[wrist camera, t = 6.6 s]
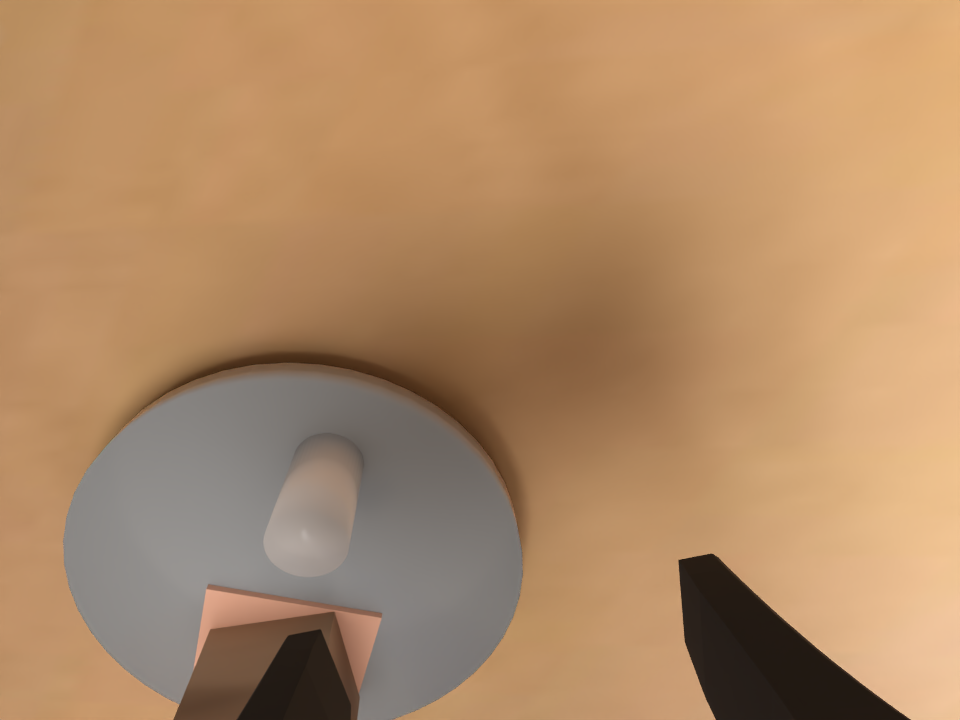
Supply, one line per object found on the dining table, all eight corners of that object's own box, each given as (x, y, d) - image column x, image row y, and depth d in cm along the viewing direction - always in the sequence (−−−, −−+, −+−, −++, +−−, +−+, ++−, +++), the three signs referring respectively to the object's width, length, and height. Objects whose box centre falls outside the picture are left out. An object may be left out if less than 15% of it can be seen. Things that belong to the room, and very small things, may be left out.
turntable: (455, 725, 25) (460, 859, 21) (74, 672, 23) (-11, 811, 18) (576, 421, 20) (615, 516, 16) (96, 310, 17) (-15, 387, 13)
